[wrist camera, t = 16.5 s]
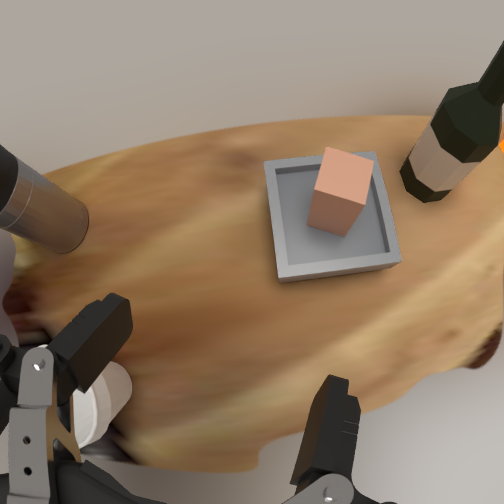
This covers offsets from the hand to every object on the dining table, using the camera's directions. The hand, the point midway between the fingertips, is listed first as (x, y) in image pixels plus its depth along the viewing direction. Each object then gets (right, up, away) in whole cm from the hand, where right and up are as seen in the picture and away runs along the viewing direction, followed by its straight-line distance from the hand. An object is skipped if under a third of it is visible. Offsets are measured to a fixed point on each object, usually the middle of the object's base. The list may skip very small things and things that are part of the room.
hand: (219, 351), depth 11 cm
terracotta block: (+10, +8, +25) cm, 28 cm away
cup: (-19, -15, +28) cm, 37 cm away
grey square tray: (+11, +7, +30) cm, 33 cm away
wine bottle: (+27, +15, +31) cm, 43 cm away
